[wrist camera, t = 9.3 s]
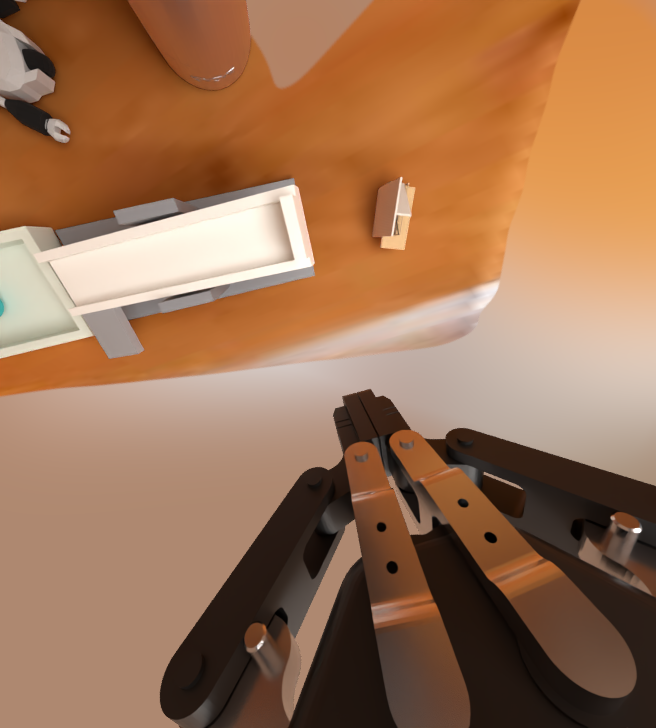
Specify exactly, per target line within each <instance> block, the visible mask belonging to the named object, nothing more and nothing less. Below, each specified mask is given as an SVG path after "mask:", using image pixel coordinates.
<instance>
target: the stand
mask: <svg viewBox="0 0 656 728" xmlns="http://www.w3.org/2000/svg"><path fill="white" fill-rule="evenodd" d="M290 185H295V182H294V178H292V179H288V180H283V181H279V182H274V183H270V184H265V185H260V186H256V187H251V188H247V189H242V190H238V191H233V192H228V193H224V194H219V195H215V196H210V197H206V198H201V199H196V200H192V201H187V202H182V201H180V200H177V199H175V198H170V199H166V200H161V201H157V202H152V203H147V204H143V205H138V206H134V207H129V208H124V209H120V210H115V211H113V212H114V214H115V216H116V217H114V218H110V219H105V220H100V221H96V222H91V223H87V224H82V225H78V226H73V227H69V228H64V229H59V230H55V232H56V233H57V235H58V237H59V238H60V240H61V242H62V244H63V245H64V246H66V245H70V244H73V243H77V242H81V241H84V240H88V239H92V238H96V237H99V236H103V235H107V234H111V233H114V232H118V231H122V230H125V229H129V228H133V227H137V226H140V225H144V224H148V223H152V222H155V221H159V220H163V219H167V218H170V217H174V216H178V215H181V214H185V213H189V212H193V211H196V210H200V209H204V208H208V207H211V206H215V205H219V204H223V203H226V202H230V201H234V200H237V199H241V198H245V197H249V196H252V195H256V194H260V193H264V192H267V191H271V190H275V189H279V188H282V187H286V186H290ZM311 276H315V273H314V268H313V266H311V267H306V268H301V269H297V270H292V271H287V272H282V273H278V274H273V275H268V276H263V277H258V278H254V279H249V280H244V281H239V282H235V283H230V284H225V285H220V286H216V287H211V288H206V289H201V290H197V291H192V292H187V293H182V294H177V295H173V296H168V297H163V298H158V299H154V300H149V301H144V302H139V303H135V304H130V305H125V306H120V307H121V308H122V310H123V312H124V314H125V316H126V318H127V319H128V320H131V319H135V318H139V317H144V316H148V315H152V314H156V313H160V312H162V313H166V312H171V311H175V310H179V309H183V308H187V307H191V306H196V305H200V304H204V303H208V302H212V301H215V300H216V299H219V298H223V297H227V296H231V295H236V294H240V293H244V292H248V291H252V290H256V289H261V288H265V287H269V286H273V285H277V284H281V283H286V282H290V281H294V280H298V279H302V278H307V277H311Z"/></svg>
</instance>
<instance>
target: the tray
mask: <svg viewBox="0 0 656 728" xmlns="http://www.w3.org/2000/svg"><path fill="white" fill-rule="evenodd" d="M58 247H62V245H61V243H60V241H59V240H58V238H57V236H56V234H55V233H54V231H53V229H52V228H51V227H34V226H22V227H18V228H13V229H9V230H4V231H0V299H1V301H2V302H3V305H4V312H3V314H2V316H1V317H0V358H4V357H8V356H12V355H16V354H20V353H25V352H29V351H33V350H37V349H41V348H45V347H49V346H54V345H58V344H62V343H66V342H70V341H74V340H78V339H83V338H87V337H91V336H94V333H93V332H92V330H91V329H90V327H89V325H88V324H87V322H86V321H85V319H84V317H83V316H82V315H77V316H72V315H71V313H70V311H69V310H68V309H70V308H73V307H77V306H76V304H75V303H74V301H73V300H72V298H71V296H70V295H69V293H68V291H67V290H66V288H65V287H64V285H63V283H62V282H61V280H60V279H59V277H58V275H57V274H56V272H55V270H54V269H53V267H52V266H51V264H50V262H43V263H38V261H37V260H36V258H35V256H34V255H33V254H36V253H40V252H43V251H47V250H51V249H55V248H58Z"/></svg>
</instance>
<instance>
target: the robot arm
mask: <svg viewBox="0 0 656 728" xmlns="http://www.w3.org/2000/svg"><path fill="white" fill-rule="evenodd" d="M127 1H128V3H129V4H130V6H131V7H132V9H133V10H134V12H135V13H136V15H137V17H138V18H139V20H140V21H141V23H142V24H143V26H144V28H145V29H146V31H147V32H148V34H149V36H150V37H151V39H152V40H153V42H154V43H155V45H156V47H157V48H158V50H159V51H160V53H161V54H162V56H163V57H164V59H165V60H166V62H167V63H168V64H169V66H170V67H171V68H172V69H173V70H174V71H175V72H176V73H177V74H178V75H179V76H180V77H181V78H183V79H184V80H185V81H187V82H188V83H190V84H192V85H194V86H196V87H198V88H202V89H206V90H219V89H222V88H225V87H228V86H229V85H231V84H232V83H233V82H235V81H236V80H237V79H238V77H239V76H240V75H241V74H242V72H243V70H244V68H245V66H246V64H247V61H248V57H249V53H250V42H251V35H250V24H249V17H248V10H247V3H246V0H127ZM343 403H344V406H343V407H339V408H336V409H335V411H334V414H333V417H334V421H335V425H336V429H337V433H338V437H339V440H340V444H341V447H342V451H343V458H342V460H341V461H340V462H339V464H338V465H336V466H335V467H334V468H332V469H330V470H327V469H325V468H322V467H315V468H311V469H309V470H307V471H305V472H304V473H303V474H302V475H301V476H300V477H299V479H298V480H297V481H296V483H295V484H294V486H293V487H292V489H291V490H290V491H289V493H288V494H287V496H286V497H285V498H284V500H283V501H282V503H281V504H280V505H279V507H278V508H277V510H276V511H275V513H274V514H273V515H272V517H271V518H270V520H269V521H268V522H267V524H266V525H265V527H264V528H263V530H262V531H261V533H260V534H259V535H258V537H257V538H256V539H255V541H254V542H253V544H252V545H251V547H250V548H249V550H248V551H247V552H246V554H245V555H244V556H243V558H242V559H241V561H240V562H239V564H238V565H237V567H236V568H235V569H234V571H233V572H232V573H231V575H230V576H229V578H228V579H227V581H226V582H225V583H224V585H223V586H222V588H221V589H220V590H219V592H218V593H217V595H216V596H215V598H214V599H213V600H212V602H211V603H210V605H209V606H208V607H207V609H206V610H205V612H204V613H203V615H202V616H201V618H200V619H199V620H198V622H197V623H196V624H195V626H194V627H193V629H192V630H191V632H190V633H189V634H188V636H187V637H186V639H185V640H184V641H183V643H182V644H181V646H180V647H179V649H178V650H177V651H176V653H175V654H174V656H173V657H172V659H171V661H170V663H169V664H168V666H167V669H166V671H165V674H164V677H163V680H162V684H161V689H160V704H161V708H162V711H163V713H164V714H165V715H166V716H167V717H168V718H170V719H171V720H172V721H174V722H175V723H177V724H178V725H179V727H180V728H656V486H654V485H651V484H647V483H644V482H641V481H637V480H634V479H631V478H628V477H624V476H621V475H618V474H614V473H611V472H608V471H605V470H601V469H598V468H595V467H591V466H588V465H585V464H581V463H579V462H575V461H572V460H569V459H566V458H562V457H559V456H556V455H553V454H549V453H546V452H543V451H539V450H536V449H533V448H530V447H526V446H523V445H520V444H517V443H513V442H510V441H506V440H504V439H500V438H497V437H494V436H490V435H487V434H484V433H481V432H477V431H474V430H471V429H466V428H457V429H453V430H451V431H449V432H448V433H447V435H446V439H425V438H423V437H422V436H421V435H420V434H419V433H417V432H415V431H412V430H411V429H410V427H409V426H408V425H407V423H406V422H405V420H404V419H403V417H402V416H401V414H400V413H399V412H398V410H397V409H396V407H395V406H394V404H393V403H392V402H391V400H390V399H388V398H386V397H384V396H380V397H375V395H374V394H373V392H372V390H371V389H368V390H365V391H361V392H357V394H356V393H353V394H350V395H346V396H343ZM484 472H486V473H489V474H492V475H494V476H497V477H499V478H502V479H504V480H507V481H509V482H512V483H515V484H517V485H519V486H520V487H521V488H523V490H521V489H518V488H516V487H513V486H511V485H508V484H506V483H503V482H501V481H498V480H496V479H493V478H491V477H488V476H486V475H483V474H484ZM391 475H392V476H393V478H394V480H395V486H396V491H397V493H398V495H399V496H400V498H401V500H402V502H403V503H404V505H405V507H406V509H407V511H408V512H409V514H410V516H411V518H412V520H413V521H414V523H415V525H416V527H417V528H418V531H419V533H420V535H410V534H409V531H408V528H407V525H406V522H405V520H404V517H403V514H402V511H401V508H400V506H399V503H398V500H397V497H396V494H395V492H394V489H393V488H391V487H390V484H389V481H388V478H387V477H388V476H391ZM354 519H355V521H356V527H357V532H358V538H359V543H360V548H361V553H362V557H361V558H360V559H359V560H358V561H357V562H356V563H355V564H354V565H353V566H352V567H351V568H350V570H349V571H348V573H347V574H346V576H345V578H344V580H343V582H342V584H341V587H340V589H339V592H338V594H337V597H336V600H335V603H334V605H333V608H332V611H331V613H330V616H329V619H328V621H327V624H326V627H325V629H324V632H323V635H322V638H321V640H320V643H319V645H318V648H317V651H316V654H315V656H314V659H313V662H312V664H311V667H310V670H309V672H308V675H307V678H306V681H305V683H304V686H303V688H302V691H301V694H300V697H299V699H298V702H297V705H296V708H295V710H294V704H293V701H294V692H295V687H296V684H297V680H298V677H299V674H300V669H301V654H300V649H299V646H298V644H297V642H296V640H295V637H296V635H297V633H298V631H299V629H300V626H301V624H302V622H303V620H304V617H305V615H306V613H307V611H308V609H309V607H310V605H311V602H312V600H313V598H314V596H315V594H316V592H317V590H318V587H319V585H320V583H321V581H322V579H323V577H324V574H325V572H326V570H327V568H328V566H329V564H330V561H331V559H332V557H333V555H334V553H335V551H336V549H337V546H338V544H339V542H340V540H341V538H342V535H343V533H344V531H345V526H346V525H347V524H349V523H350V522H351V521H353V520H354Z"/></svg>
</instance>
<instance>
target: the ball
mask: <svg viewBox="0 0 656 728" xmlns="http://www.w3.org/2000/svg"><path fill="white" fill-rule="evenodd" d="M3 312H4V305H3V302H2V301H1V299H0V317H1V316H2V314H3Z"/></svg>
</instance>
